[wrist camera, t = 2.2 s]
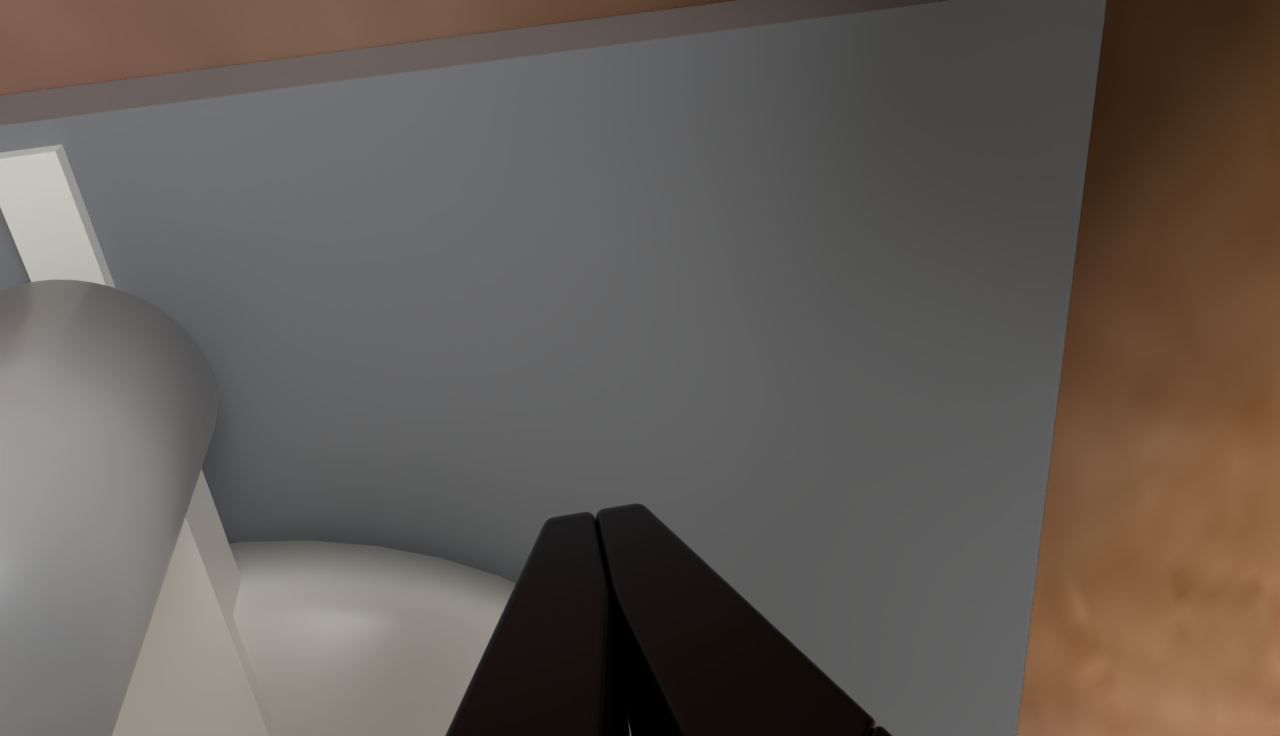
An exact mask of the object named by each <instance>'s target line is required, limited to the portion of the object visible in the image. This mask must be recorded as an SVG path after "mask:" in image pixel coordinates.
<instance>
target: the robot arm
mask: <svg viewBox="0 0 1280 736" xmlns="http://www.w3.org/2000/svg"><path fill="white" fill-rule="evenodd" d="M629 728H630V730H629ZM630 734H631V736H892V735H891V734H890V733H889V732H888V731H887V730H886V729H885V728H884V727H882V726H877V727H876V721H875V720H874V718H873V717H872V716H870V715H869V714H868V713H867V712H866V711H865V710H864V709H863V708H862V707H861V706H860V705H859V704H858V703H856V702H855V701H854V700H853V699H852V698H851V697H850V696H849V695H848V694H847V693H846V692H845V691H844V690H842V689H841V688H840V687H839V686H838V685H837V684H836V683H835V682H834V681H833V680H832V679H831V678H830V677H829V676H827V675H826V674H825V673H824V672H823V671H822V670H821V669H820V668H819V667H818V666H817V665H816V664H815V663H813V662H812V661H811V660H810V659H809V658H808V657H807V656H806V655H805V654H804V653H803V652H802V651H801V650H799V649H798V648H797V647H796V646H795V645H794V644H793V643H792V642H791V641H790V640H789V639H788V638H787V637H786V636H784V635H783V634H782V633H781V632H780V631H779V630H778V629H777V628H776V627H775V626H774V625H773V624H772V623H770V622H769V621H768V620H767V619H766V618H765V617H764V616H763V615H762V614H761V613H760V612H759V611H758V610H756V609H755V608H754V607H753V606H752V605H751V604H750V603H749V602H748V601H747V600H746V599H745V598H744V597H742V596H741V595H740V594H739V593H738V592H737V591H736V590H735V589H734V588H733V587H732V586H731V585H730V584H729V583H727V582H726V581H725V580H724V579H723V578H722V577H721V576H720V575H719V574H718V573H717V572H716V571H715V570H713V569H712V568H711V567H710V566H709V565H708V564H707V563H706V562H705V561H704V560H703V559H702V558H701V557H699V556H698V555H697V554H696V553H695V552H694V551H693V550H692V549H691V548H690V547H689V546H688V545H687V544H686V543H684V542H683V541H682V540H681V539H680V538H679V537H678V536H677V535H676V534H675V533H674V532H673V531H672V530H670V529H669V528H668V527H667V526H666V525H665V524H664V523H663V522H662V521H661V520H660V519H659V518H658V517H656V516H655V515H654V514H653V513H652V512H651V511H650V510H649V509H648V508H647V507H646V506H644V505H642V504H640V503H634V504H628V505H622V506H616V507H610V508H604V509H601V510H599V511H598V512H597V514H596V520H595V517H594V516H593V514H592V513H590V512H580V513H574V514H569V515H563V516H557V517H552V518H549V519H548V520H547V521H546V522H545V523H544V525H543V527H542V529H541V531H540V533H539V535H538V537H537V539H536V542H535V544H534V546H533V548H532V550H531V552H530V554H529V557H528V559H527V561H526V563H525V565H524V567H523V569H522V572H521V574H520V576H519V578H518V580H517V582H516V585H515V587H514V589H513V591H512V593H511V595H510V597H509V600H508V602H507V604H506V606H505V608H504V610H503V612H502V615H501V617H500V619H499V621H498V623H497V625H496V627H495V630H494V632H493V634H492V636H491V638H490V640H489V642H488V645H487V647H486V649H485V651H484V653H483V655H482V657H481V660H480V662H479V664H478V666H477V668H476V670H475V672H474V675H473V677H472V679H471V681H470V683H469V685H468V687H467V690H466V692H465V694H464V696H463V698H462V700H461V702H460V705H459V707H458V709H457V711H456V713H455V715H454V717H453V720H452V722H451V724H450V726H449V728H448V730H447V732H446V735H445V736H630Z"/></svg>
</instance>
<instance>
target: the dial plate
mask: <svg viewBox="0 0 1280 736" xmlns="http://www.w3.org/2000/svg"><path fill="white" fill-rule="evenodd" d="M1106 2H1107V0H736V1H728V2H720V3H712V4H705V5H697V6H689V7H682V8H674V9H666V10H658V11H651V12H643V13H635V14H627V15H620V16H612V17H604V18H596V19H589V20H581V21H573V22H565V23H558V24H550V25H542V26H534V27H527V28H519V29H511V30H503V31H496V32H488V33H480V34H472V35H465V36H457V37H449V38H441V39H434V40H426V41H418V42H410V43H403V44H395V45H387V46H379V47H372V48H364V49H356V50H348V51H341V52H333V53H325V54H317V55H310V56H302V57H294V58H286V59H279V60H271V61H263V62H255V63H248V64H240V65H232V66H224V67H217V68H209V69H201V70H193V71H186V72H178V73H170V74H162V75H155V76H147V77H139V78H131V79H124V80H116V81H108V82H100V83H93V84H85V85H77V86H69V87H62V88H54V89H46V90H38V91H31V92H23V93H15V94H8V95H0V291H2V290H5V289H8V288H11V287H14V286H17V285H20V284H25V283H30V282H35V281H44V280H55V279H56V280H78V281H86V282H93V283H97V284H101V285H105V286H110V287H113V288H116V289H119V290H122V291H124V292H127V293H130V294H132V295H134V296H136V297H138V298H140V299H142V300H145V301H147V302H148V303H150V304H152V305H153V306H155V307H156V308H158V309H160V310H161V311H163V312H164V313H165V314H167V315H168V316H169V317H170V318H172V319H173V320H174V321H176V322H177V323H178V324H179V325H180V326H181V327H182V328H183V329H184V330H185V331H186V332H187V333H188V334H189V335H190V337H191V338H192V339H193V340H194V342H195V343H196V344H197V345H198V347H199V348H200V350H201V351H202V353H203V355H204V356H205V358H206V360H207V362H208V364H209V366H210V369H211V371H212V374H213V376H214V380H215V384H216V388H217V396H218V413H217V420H216V424H215V429H214V432H213V435H212V438H211V441H210V444H209V447H208V450H207V453H206V456H205V459H204V462H203V465H202V471H203V474H204V476H205V479H206V482H207V485H208V487H209V490H210V493H211V496H212V499H213V501H214V504H215V507H216V510H217V512H218V515H219V518H220V521H221V523H222V526H223V529H224V532H225V535H226V537H227V540H228V543H236V542H245V541H309V540H313V541H324V542H336V543H348V544H360V545H372V546H381V547H386V548H391V549H396V550H402V551H407V552H412V553H417V554H423V555H428V556H433V557H438V558H443V559H446V560H449V561H452V562H456V563H459V564H462V565H466V566H469V567H472V568H475V569H479V570H482V571H485V572H488V573H492V574H495V575H498V576H501V577H503V578H505V579H507V580H510V581H512V582H514V583H516V582H517V580H518V578H519V576H520V574H521V572H522V569H523V567H524V565H525V563H526V561H527V559H528V557H529V554H530V552H531V550H532V548H533V546H534V544H535V542H536V539H537V537H538V535H539V533H540V531H541V529H542V527H543V525H544V523H545V522H546V521H547V520H548V519H549V518H552V517H557V516H563V515H569V514H574V513H580V512H590V513H592V514H593V516H594V517H595V520H596V514H597V512H598V511H599V510H601V509H604V508H610V507H616V506H622V505H628V504H634V503H640V504H642V505H644V506H646V507H647V508H648V509H649V510H650V511H651V512H652V513H653V514H654V515H655V516H656V517H658V518H659V519H660V520H661V521H662V522H663V523H664V524H665V525H666V526H667V527H668V528H669V529H670V530H672V531H673V532H674V533H675V534H676V535H677V536H678V537H679V538H680V539H681V540H682V541H683V542H684V543H686V544H687V545H688V546H689V547H690V548H691V549H692V550H693V551H694V552H695V553H696V554H697V555H698V556H699V557H701V558H702V559H703V560H704V561H705V562H706V563H707V564H708V565H709V566H710V567H711V568H712V569H713V570H715V571H716V572H717V573H718V574H719V575H720V576H721V577H722V578H723V579H724V580H725V581H726V582H727V583H729V584H730V585H731V586H732V587H733V588H734V589H735V590H736V591H737V592H738V593H739V594H740V595H741V596H742V597H744V598H745V599H746V600H747V601H748V602H749V603H750V604H751V605H752V606H753V607H754V608H755V609H756V610H758V611H759V612H760V613H761V614H762V615H763V616H764V617H765V618H766V619H767V620H768V621H769V622H770V623H772V624H773V625H774V626H775V627H776V628H777V629H778V630H779V631H780V632H781V633H782V634H783V635H784V636H786V637H787V638H788V639H789V640H790V641H791V642H792V643H793V644H794V645H795V646H796V647H797V648H798V649H799V650H801V651H802V652H803V653H804V654H805V655H806V656H807V657H808V658H809V659H810V660H811V661H812V662H813V663H815V664H816V665H817V666H818V667H819V668H820V669H821V670H822V671H823V672H824V673H825V674H826V675H827V676H829V677H830V678H831V679H832V680H833V681H834V682H835V683H836V684H837V685H838V686H839V687H840V688H841V689H842V690H844V691H845V692H846V693H847V694H848V695H849V696H850V697H851V698H852V699H853V700H854V701H855V702H856V703H858V704H859V705H860V706H861V707H862V708H863V709H864V710H865V711H866V712H867V713H868V714H869V715H870V716H872V717H873V718H874V720H875V721H876V727H877V726H882V727H884V728H885V729H886V730H887V731H888V732H889V733H890V734H891V735H892V736H1017V728H1018V720H1019V712H1020V704H1021V695H1022V687H1023V679H1024V671H1025V663H1026V655H1027V646H1028V638H1029V630H1030V622H1031V614H1032V606H1033V597H1034V589H1035V581H1036V573H1037V565H1038V557H1039V548H1040V540H1041V532H1042V524H1043V516H1044V508H1045V499H1046V491H1047V483H1048V475H1049V467H1050V459H1051V451H1052V442H1053V434H1054V426H1055V418H1056V410H1057V402H1058V393H1059V385H1060V377H1061V369H1062V361H1063V353H1064V344H1065V336H1066V328H1067V320H1068V312H1069V304H1070V295H1071V287H1072V279H1073V271H1074V263H1075V255H1076V246H1077V238H1078V230H1079V222H1080V214H1081V206H1082V197H1083V189H1084V181H1085V173H1086V165H1087V157H1088V148H1089V140H1090V132H1091V124H1092V116H1093V108H1094V99H1095V91H1096V83H1097V75H1098V67H1099V59H1100V51H1101V42H1102V34H1103V26H1104V18H1105V10H1106Z"/></svg>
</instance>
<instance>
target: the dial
mask: <svg viewBox="0 0 1280 736" xmlns="http://www.w3.org/2000/svg"><path fill="white" fill-rule="evenodd" d="M217 413H218V396H217V388H216V384H215V380H214V376H213V374H212V371H211V369H210V366H209V364H208V362H207V360H206V358H205V356H204V355H203V353H202V351H201V350H200V348H199V347H198V345H197V344H196V343H195V342H194V340H193V339H192V338H191V337H190V335H189V334H188V333H187V332H186V331H185V330H184V329H183V328H182V327H181V326H180V325H179V324H178V323H177V322H176V321H174V320H173V319H172V318H170V317H169V316H168V315H167V314H165V313H164V312H163V311H161V310H160V309H158V308H156V307H155V306H153V305H152V304H150V303H148V302H147V301H145V300H142V299H140V298H138V297H136V296H134V295H132V294H130V293H127V292H124V291H122V290H119V289H116V288H113V287H110V286H105V285H101V284H97V283H93V282H86V281H78V280H56V279H55V280H44V281H35V282H30V283H25V284H20V285H17V286H14V287H11V288H8V289H5V290H2V291H0V736H445V735H446V732H447V730H448V728H449V726H450V724H451V722H452V720H453V717H454V715H455V713H456V711H457V709H458V707H459V705H460V702H461V700H462V698H463V696H464V694H465V692H466V690H467V687H468V685H469V683H470V681H471V679H472V677H473V675H474V672H475V670H476V668H477V666H478V664H479V662H480V660H481V657H482V655H483V653H484V651H485V649H486V647H487V645H488V642H489V640H490V638H491V636H492V634H493V632H494V630H495V627H496V625H497V623H498V621H499V619H500V617H501V615H502V612H503V610H504V608H505V606H506V604H507V602H508V600H509V597H510V595H511V593H512V591H513V589H514V587H515V585H516V583H514V582H512V581H510V580H507V579H505V578H503V577H501V576H498V575H495V574H492V573H488V572H485V571H482V570H479V569H475V568H472V567H469V566H466V565H462V564H459V563H456V562H452V561H449V560H446V559H443V558H438V557H433V556H428V555H423V554H417V553H412V552H407V551H402V550H396V549H391V548H386V547H381V546H372V545H360V544H348V543H336V542H324V541H313V540H309V541H245V542H236V543H228V540H227V537H226V535H225V532H224V529H223V526H222V523H221V521H220V518H219V515H218V512H217V510H216V507H215V504H214V501H213V499H212V496H211V493H210V490H209V487H208V485H207V482H206V479H205V476H204V474H203V471H202V465H203V462H204V459H205V456H206V453H207V450H208V447H209V444H210V441H211V438H212V435H213V432H214V429H215V424H216V420H217ZM629 730H630V728H629ZM630 736H631V734H630Z"/></svg>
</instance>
